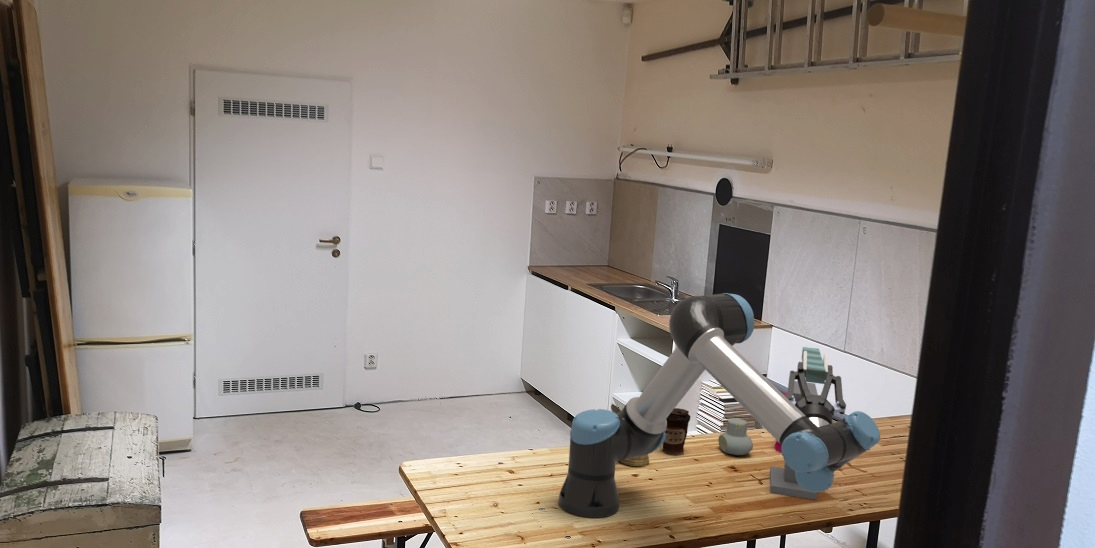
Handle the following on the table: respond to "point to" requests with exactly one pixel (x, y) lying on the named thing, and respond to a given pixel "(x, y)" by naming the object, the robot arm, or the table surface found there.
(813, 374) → the block
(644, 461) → the wooden mug
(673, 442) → the coffee cup
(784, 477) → the stand
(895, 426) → the table surface
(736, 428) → the air freshener
